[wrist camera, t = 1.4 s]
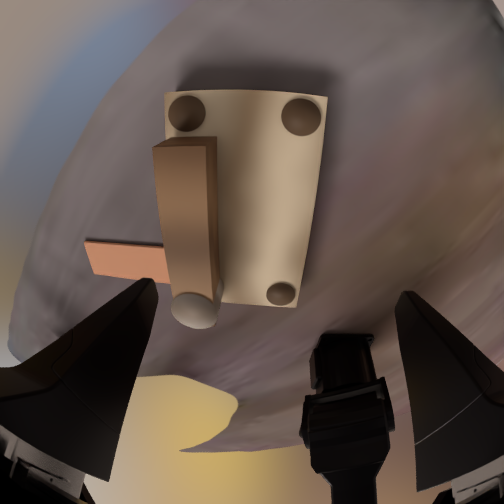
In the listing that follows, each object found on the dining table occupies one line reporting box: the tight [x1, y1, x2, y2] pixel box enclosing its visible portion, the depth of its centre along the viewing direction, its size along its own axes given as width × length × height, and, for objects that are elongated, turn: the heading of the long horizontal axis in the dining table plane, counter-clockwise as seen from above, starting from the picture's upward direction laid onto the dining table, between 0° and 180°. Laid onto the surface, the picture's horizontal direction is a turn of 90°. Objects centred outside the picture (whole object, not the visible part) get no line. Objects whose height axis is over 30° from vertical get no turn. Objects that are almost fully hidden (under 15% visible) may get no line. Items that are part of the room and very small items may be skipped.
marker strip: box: [84, 241, 170, 284], centre depth 24 cm, size 10×4×1 cm, turn 88°
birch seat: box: [165, 90, 328, 308], centre depth 19 cm, size 10×17×2 cm, turn 178°
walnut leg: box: [152, 136, 224, 329], centre depth 18 cm, size 14×4×3 cm, turn 178°
